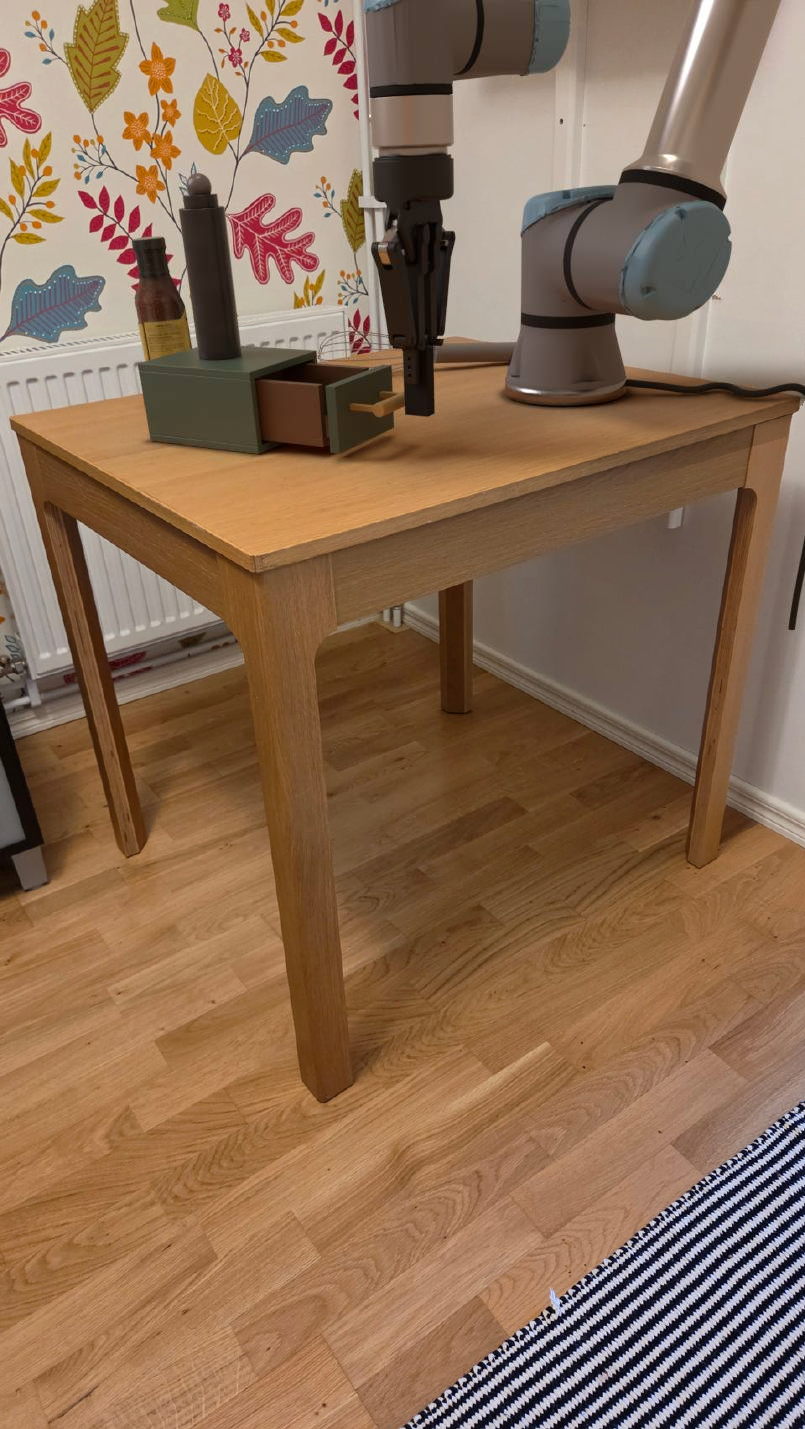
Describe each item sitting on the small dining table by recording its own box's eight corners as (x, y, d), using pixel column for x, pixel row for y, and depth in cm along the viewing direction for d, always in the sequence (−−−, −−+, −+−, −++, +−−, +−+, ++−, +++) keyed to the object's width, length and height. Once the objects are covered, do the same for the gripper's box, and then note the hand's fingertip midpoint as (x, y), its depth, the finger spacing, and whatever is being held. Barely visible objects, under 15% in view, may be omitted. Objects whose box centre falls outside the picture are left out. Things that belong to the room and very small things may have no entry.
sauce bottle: (210, 401, 131) (187, 235, 121) (171, 411, 127) (145, 240, 117) (180, 395, 135) (155, 234, 125) (141, 404, 131) (113, 239, 121)
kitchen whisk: (551, 363, 144) (552, 316, 141) (323, 387, 137) (319, 339, 134) (535, 356, 149) (536, 311, 146) (315, 378, 142) (311, 332, 139)
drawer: (428, 431, 109) (426, 367, 106) (375, 458, 101) (371, 390, 98) (289, 417, 118) (283, 357, 114) (229, 441, 109) (221, 377, 106)
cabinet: (322, 426, 117) (316, 350, 112) (258, 454, 107) (249, 372, 103) (218, 416, 124) (209, 343, 119) (150, 441, 114) (137, 363, 110)
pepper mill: (250, 353, 112) (229, 171, 103) (223, 361, 109) (200, 173, 100) (217, 351, 115) (194, 172, 105) (190, 359, 111) (164, 174, 102)
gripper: (410, 152, 97) (417, 398, 109) (340, 156, 87) (356, 425, 99) (480, 149, 94) (479, 403, 106) (414, 153, 84) (422, 432, 96)
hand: (419, 414), depth 102 cm, fingers closed
